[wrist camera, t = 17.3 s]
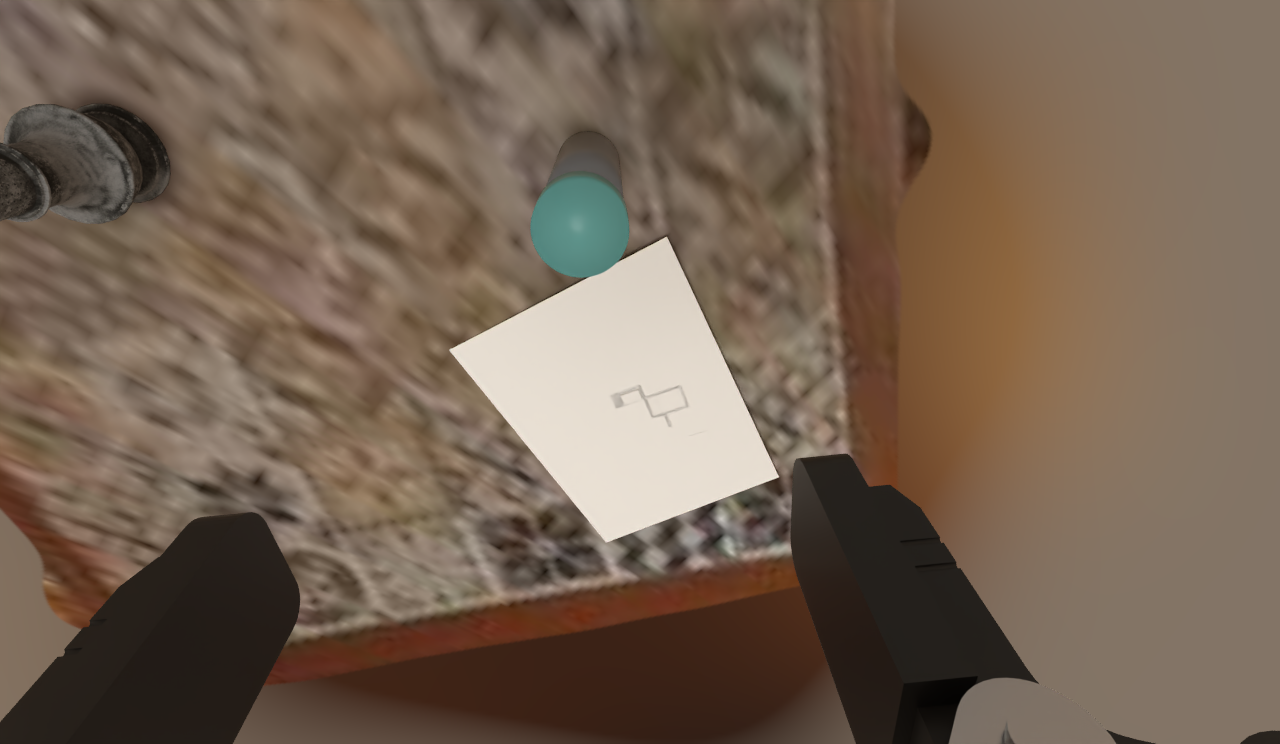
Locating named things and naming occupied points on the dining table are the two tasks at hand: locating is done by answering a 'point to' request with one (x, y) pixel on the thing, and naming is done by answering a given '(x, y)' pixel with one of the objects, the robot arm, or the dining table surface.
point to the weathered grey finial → (78, 163)
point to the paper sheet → (623, 395)
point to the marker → (582, 209)
